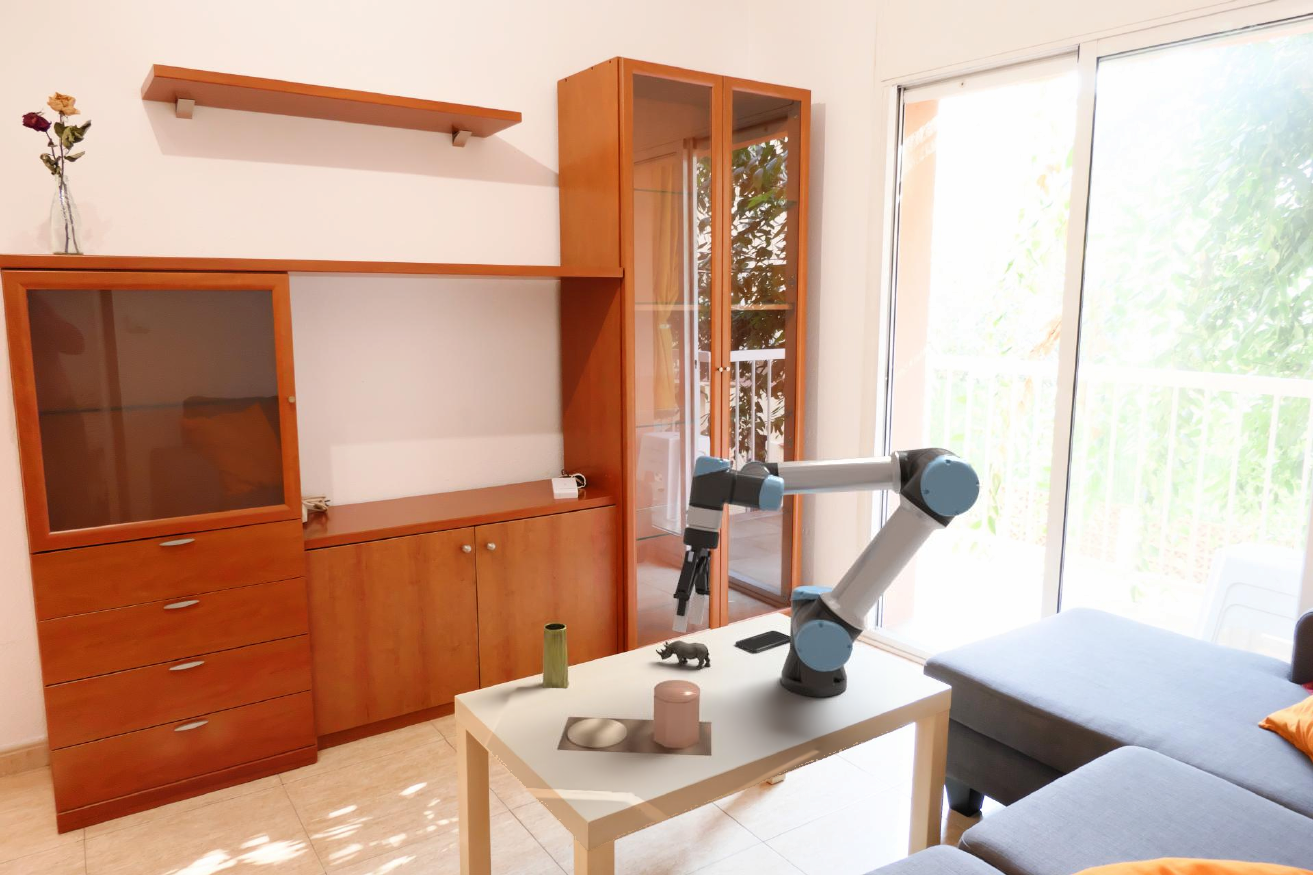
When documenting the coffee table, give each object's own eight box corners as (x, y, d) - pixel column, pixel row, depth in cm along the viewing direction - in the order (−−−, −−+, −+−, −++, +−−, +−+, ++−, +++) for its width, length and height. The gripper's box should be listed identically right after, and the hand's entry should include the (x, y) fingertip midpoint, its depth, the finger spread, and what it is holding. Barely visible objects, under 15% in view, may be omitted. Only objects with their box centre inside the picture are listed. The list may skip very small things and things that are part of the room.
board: (711, 727, 182) (711, 721, 182) (711, 761, 168) (711, 755, 168) (568, 722, 184) (568, 716, 184) (557, 755, 170) (557, 749, 170)
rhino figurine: (658, 658, 219) (658, 635, 218) (711, 664, 215) (712, 641, 214) (653, 664, 215) (653, 640, 214) (708, 671, 211) (708, 647, 210)
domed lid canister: (677, 721, 182) (678, 676, 180) (708, 737, 175) (709, 690, 174) (644, 735, 176) (644, 688, 174) (675, 752, 169) (675, 703, 167)
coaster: (629, 721, 182) (629, 719, 182) (624, 749, 170) (624, 747, 170) (572, 718, 183) (572, 717, 182) (562, 746, 171) (563, 744, 171)
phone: (795, 638, 231) (754, 651, 222) (794, 642, 231) (754, 655, 222) (773, 629, 237) (733, 642, 228) (773, 633, 237) (733, 646, 228)
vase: (547, 693, 198) (547, 632, 196) (538, 682, 203) (537, 624, 201) (572, 687, 201) (572, 628, 199) (562, 678, 206) (562, 620, 204)
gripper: (699, 525, 199) (685, 617, 198) (670, 525, 175) (653, 630, 174) (731, 530, 197) (717, 624, 196) (706, 532, 173) (689, 638, 172)
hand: (687, 627), depth 185 cm, fingers open, 13 cm apart
